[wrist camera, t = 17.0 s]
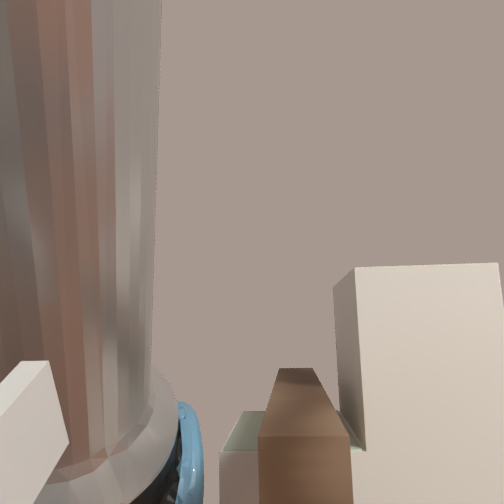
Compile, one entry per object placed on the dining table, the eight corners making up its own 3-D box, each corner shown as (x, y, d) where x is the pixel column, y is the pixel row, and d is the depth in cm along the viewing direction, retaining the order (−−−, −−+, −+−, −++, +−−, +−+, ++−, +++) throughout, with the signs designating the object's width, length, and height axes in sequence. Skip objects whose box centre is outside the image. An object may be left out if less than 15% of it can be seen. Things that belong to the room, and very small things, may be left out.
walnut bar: (260, 535, 14) (257, 436, 14) (280, 402, 39) (279, 368, 40) (355, 537, 14) (349, 436, 14) (314, 402, 39) (312, 367, 40)
